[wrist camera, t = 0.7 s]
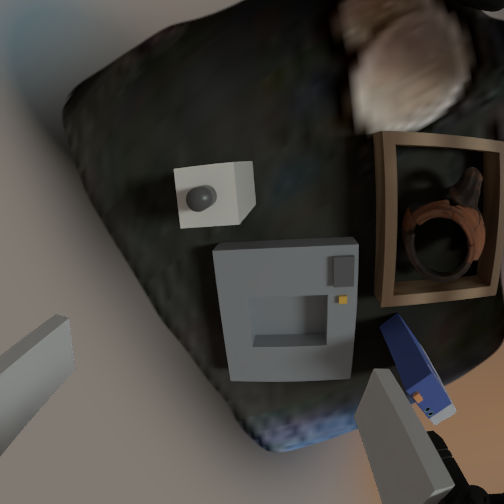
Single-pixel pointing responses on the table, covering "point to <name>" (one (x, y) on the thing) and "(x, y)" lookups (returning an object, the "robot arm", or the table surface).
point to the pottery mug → (462, 214)
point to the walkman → (417, 370)
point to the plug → (214, 194)
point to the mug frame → (385, 289)
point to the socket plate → (288, 307)
